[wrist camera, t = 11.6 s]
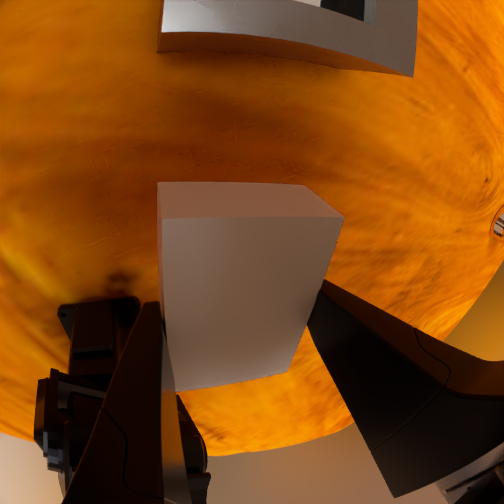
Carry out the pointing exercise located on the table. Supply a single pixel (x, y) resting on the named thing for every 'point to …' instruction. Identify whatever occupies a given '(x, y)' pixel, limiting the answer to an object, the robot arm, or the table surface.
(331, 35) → the grey hollow block
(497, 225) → the beer glass
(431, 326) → the table surface
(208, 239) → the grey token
